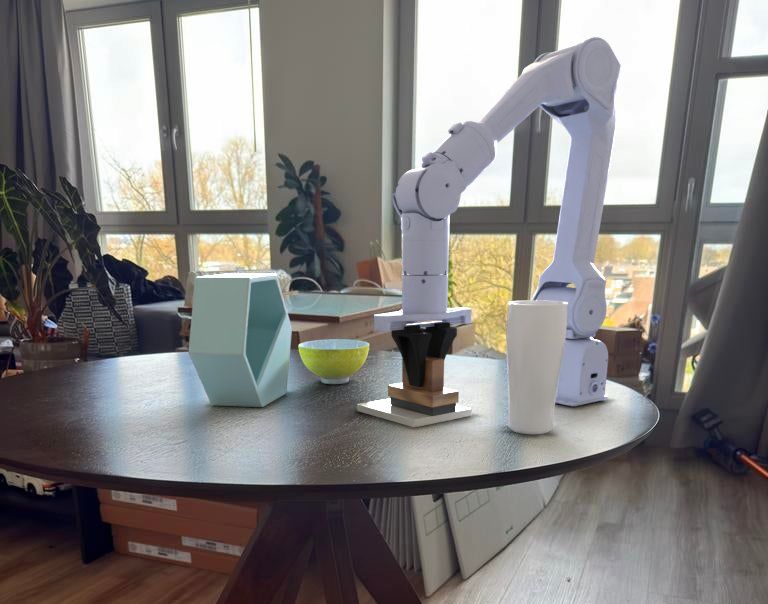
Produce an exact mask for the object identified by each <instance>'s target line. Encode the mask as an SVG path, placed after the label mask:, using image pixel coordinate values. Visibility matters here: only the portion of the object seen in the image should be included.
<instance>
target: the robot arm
mask: <svg viewBox="0 0 768 604" xmlns="http://www.w3.org/2000/svg"><path fill="white" fill-rule="evenodd" d="M621 66H622V65H621V63H620V61H619V60H618V57H617V55H616V54H615V52H614V50H613V49H612V47H611V45H610V44H609V42H607V40H605V39H603V38H602V37H599V36H593V37H590V38H588V39H585V40H584V41H583V42H580V43H577V44H574V45H571V46H568V47H564V48H561V49H559V50H555V51H553V52H549V51H548V52H544V53H543V54H540V55H539V56H538V57H537V58H536V59H535V60H534V61H533V63H530V64H529V65H527V66H525V67H524V68H523V70H522V72H521V74H520V75H519V76H518V78H517V79H516V80H515V81H514V82H513V83H512V84H511V85H510V87H508V89H507V90H506V91H505V92H504V93H503V94H502V95H501V96H500V98H498V100H497V101H495V103H493V105H492V106H491V107H490V108H489V109H488V111H487V112H486V113H484V115H483V116H482V117H481V118H480V119H479V120H478V122H477V121H474V120H465V121H463V122H456V123H453V124H452V125H451V126H450V127H449V128H448V129H447V133H448V135H449V136H448V137H447V138H445V139H444V140H443V141H442V143H440V144H439V145H438V147H436V148H435V150H433V151H430V152H426V153H425V154H424V155H423V156H422V157H421V161H422V162H421V165H420V167H419V168H414V169H410V170H407V171H406V172H404V173H403V174H402V176H400V178H399V180H398V182H397V186H396V188H395V192H394V193H392V194H391V199H392V204H393V207H394V209H395V211H396V213H397V214H398V216H399V219H400V230H401V309H400V310H399V311H392V312H385V313H377V314H374V315H373V329H374V330H373V331H374V332H380V333H391V335H390V336H391V338H392V340H393V341H394V343H395V345H396V347H397V349H398V351H399V353H400V355H401V359H402V358H403V361H404V364H405V368H406V372H407V376H408V380H409V385H412V386H416V387H423V384H424V378H425V361H426V356H430V357H436V358H441V359H444V361H445V360H446V357H447V354H448V353H449V350H450V348H451V346H452V344H453V343H454V340H455V339H456V338H457V336H458V328H457V327H454V326H451V325H460V324H462V325H470V324H472V308H469V307H448V305H449V303H448V302H449V301H448V299H449V255H450V253H449V251H450V250H449V249H450V216H451V214H454V213H455V212H457V210H458V207H459V206H460V202H461V197H462V194H463V192H464V191H466V189H468V187H470V186H471V185H472V184H473V182H475V180H477V179H478V178H479V177H480V176H481V174H483V173H484V171H486V169H488V167H490V166H491V165H492V164H493V163H494V161H495V159H496V157H497V144H498V143H499V142H501V141H502V140H503V139H504V138H505V137H507V136H508V135H509V134H510V133H511V132H512V131H513V130H514V129H515V128H517V127H518V126H519V125H520V124H521V123H522V122H523V121H524V120H525V119H526V118H528V117H530V115H531V114H533V112H535V111H536V110H537V109H538V108H540V109H542V110H543V111H544V112H545V113H546V114H548V116H550V117H551V118H552V119H553V120H555V121H556V122H557V123H558V124H559V125H561V126H562V127H563V128H564V129H565V130H566V131H567V133H568V134H569V137H570V141H569V142H570V143H569V148H568V149H569V150H568V157H567V164H566V169H565V177H564V178H565V179H564V184H563V189H562V190H563V191H562V198H561V205H560V211H559V219H558V223H557V224H558V225H557V230H556V231H557V233H556V239H555V245H554V252H553V259H552V262H551V263H550V264H549V266H548V267H546V269H544V271H542V273H541V274H540V275H539V278H538V284H537V288H536V290H535V292H534V293H533V296H532V298H531V300H550V301H563V302H566V303H567V304H568V305H567V328H566V338H565V346H564V352H563V358H562V364H561V370H560V376H559V382H558V389H557V395H556V401H555V404H560V405H563V406H569V407H577V406H582V405H586V404H591V403H595V402H596V403H597V402H599V401H600V402H601V401H605V400H608V398H609V397H608V395H606V387H607V378H608V377H607V376H608V365H609V350H608V347H607V345H606V344H605V343H604V342H603V341H602V340H599V339H594V338H595V337H596V334H597V332H598V331H599V329H600V328H601V327H602V325H603V324H604V322H605V319H606V316H607V308H608V307H607V300H606V299H607V298H606V287H607V280H606V278H605V277H604V275H603V274H602V273H601V272H600V271H599V270H598V269H597V267H596V265H595V257H596V252H597V246H598V240H599V234H600V230H601V229H600V228H601V222H602V216H603V215H602V214H603V211H604V210H603V209H604V204H605V198H606V192H607V191H606V190H607V187H608V186H607V185H608V179H609V173H610V167H611V161H612V154H613V148H614V143H615V136H616V130H617V120H618V119H617V106H616V105H617V104H616V96H617V91H618V84H619V78H620V72H621ZM572 284H573V285H574V287H573V286H569V285H572ZM423 321H424V322H423ZM425 321H426V322H425ZM427 321H428V322H427Z"/></svg>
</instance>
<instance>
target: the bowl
mask: <svg viewBox="0 0 768 604" xmlns="http://www.w3.org/2000/svg"><path fill="white" fill-rule="evenodd" d="M369 351H370V343H369V342H367V341H364V340H358V339H347V338H332V339H330V338H329V339H316V340H309V341H304V342H301V343H298V354H299V356H300V359H301V361H302V363H303V364H304V366H305V368H307V369H308V370H309V371H310V372H311V373H312V374H314V375H316V376H318V377H319V378H320V383H322V384H325V385H342V384H347V383H349V380H350V377H351V376H352V375H355V374H356V373H357V372H358V371H359V370H360V369H361V368H362V367H363V366H364V364H365V362H366V361H367V358H368V354H369Z"/></svg>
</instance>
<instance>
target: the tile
mask: <svg viewBox="0 0 768 604" xmlns="http://www.w3.org/2000/svg"><path fill="white" fill-rule="evenodd" d="M356 406H357V407H356V409H357V412H359V413H363V414H365V415H368V416H369V415H370V416H373V417H377V418H379V419H382V420H383V419H384V420H387V421H391V422H393V423H397V424H400V425H403V426H406V427H407V426H408V427H411V428H419V427H423V426H429V425H433V424H439V423H443V422H448V421H452V420H457V419H458V420H459V419H463V418H468V417H472V414H473V410H472V409H473V408H471V407H466V406H462V405H459V404H456V412H451V413H446V414H441V415H436V416H430V415H426V414H422V413H418V412H415V411H411V410H407V409H404V408H400V407H396V406H392V405H390V398H386V399H385V398H384V399H379V400H374V401H367V402H362V403H357V404H356Z"/></svg>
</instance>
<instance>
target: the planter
mask: <svg viewBox="0 0 768 604" xmlns="http://www.w3.org/2000/svg"><path fill="white" fill-rule="evenodd" d="M193 286H194V287H193V297H192V308H191V321H190V330H189V331H190V332H189V342H188V355H189V358H190V360H191V362H192V365H193V366H194V369H195V371H196V373H197V376H198V378H199V381H200V382H201V385H202V387H203V390H204V392H205V394H206V396H207V398H208V400H209V403H210V405H211V406H219V407H241V408H246V407H247V408H263V407H265V406H267V405H269V404H271V403H273V402H274V401H276V400H278V399H279V398H281V397H283V396H285V395H286V394H287V391H288V390H287V389H288V382H289V369H290V356H291V346H292V345H291V343H292V332H293V331H292V330H293V327H292V323H291V320H290V317H289V313H288V309H287V305H286V303H285V298H284V296H283V295H284V294H283V291H282V288H281V283H280V281H279V277H278V275H277V273H222V274H221V273H220V274H213V275H212V274H211V275H202V276H195V278H194V285H193Z"/></svg>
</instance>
